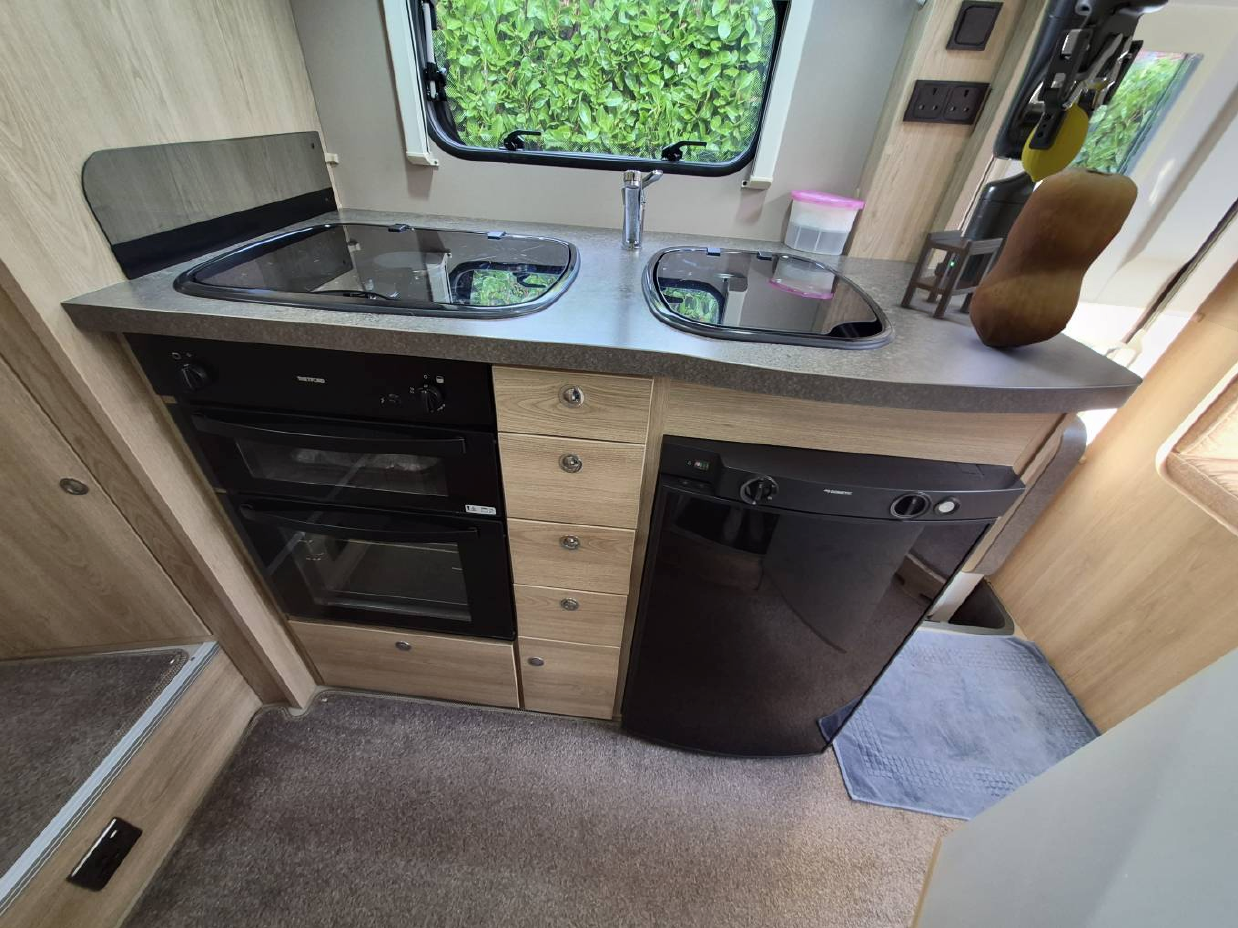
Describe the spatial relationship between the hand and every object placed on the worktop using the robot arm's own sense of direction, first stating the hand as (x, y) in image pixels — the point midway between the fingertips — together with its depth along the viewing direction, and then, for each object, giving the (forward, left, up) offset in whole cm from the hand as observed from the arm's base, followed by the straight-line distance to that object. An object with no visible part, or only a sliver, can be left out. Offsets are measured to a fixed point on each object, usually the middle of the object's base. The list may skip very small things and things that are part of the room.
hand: (1051, 149), depth 58 cm
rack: (-16, +22, -27) cm, 39 cm away
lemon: (0, 0, -4) cm, 4 cm away
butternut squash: (0, +15, -27) cm, 31 cm away
